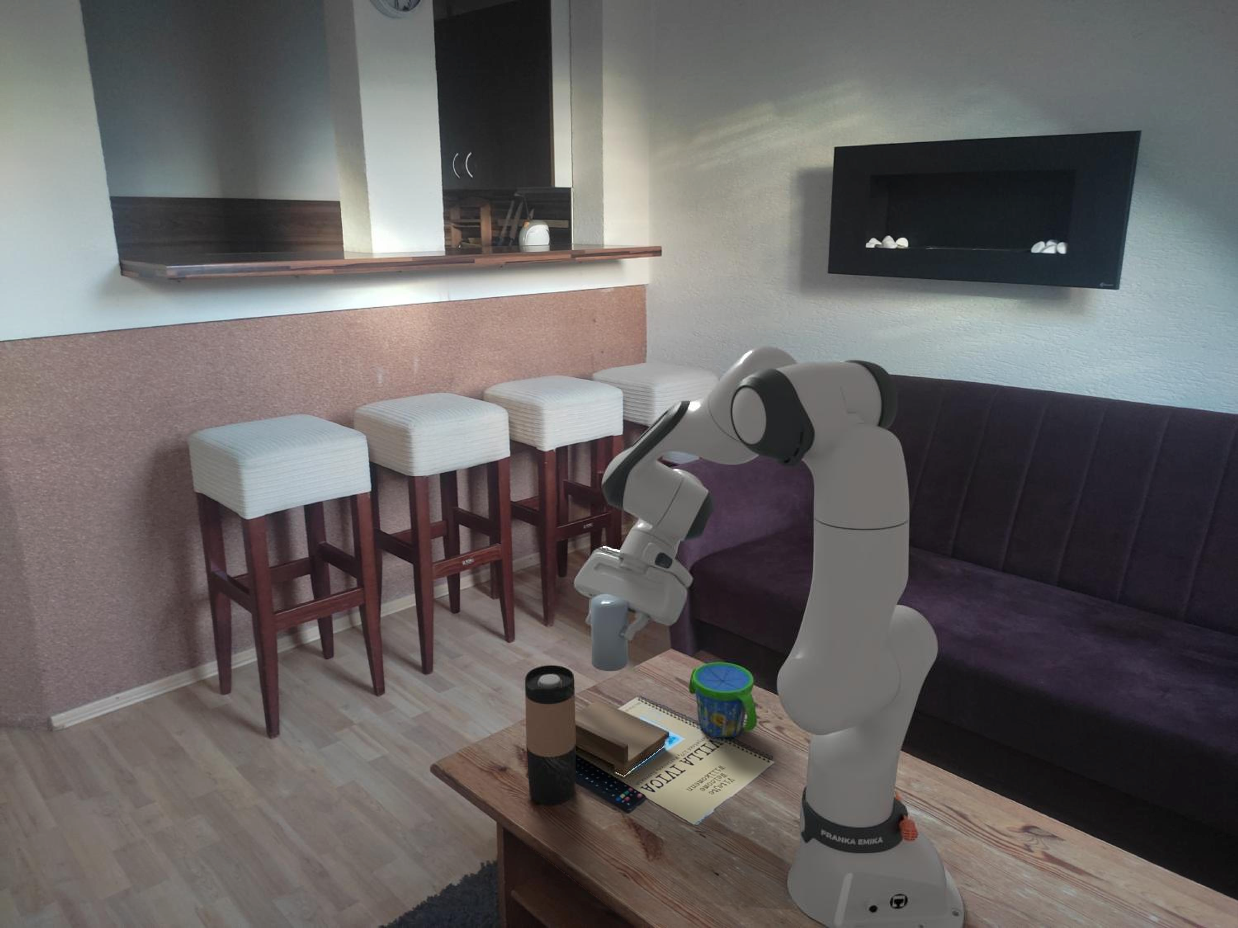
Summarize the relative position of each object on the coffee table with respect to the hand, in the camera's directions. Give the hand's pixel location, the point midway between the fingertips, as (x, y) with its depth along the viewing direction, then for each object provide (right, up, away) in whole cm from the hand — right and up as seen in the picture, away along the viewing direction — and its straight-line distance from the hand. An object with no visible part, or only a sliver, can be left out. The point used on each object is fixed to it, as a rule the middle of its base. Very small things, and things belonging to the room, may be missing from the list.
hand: (607, 631), depth 146 cm
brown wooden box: (0, -21, +6) cm, 22 cm away
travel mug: (-9, -24, -5) cm, 26 cm away
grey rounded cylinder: (0, -5, +2) cm, 6 cm away
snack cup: (+20, -19, +12) cm, 30 cm away
